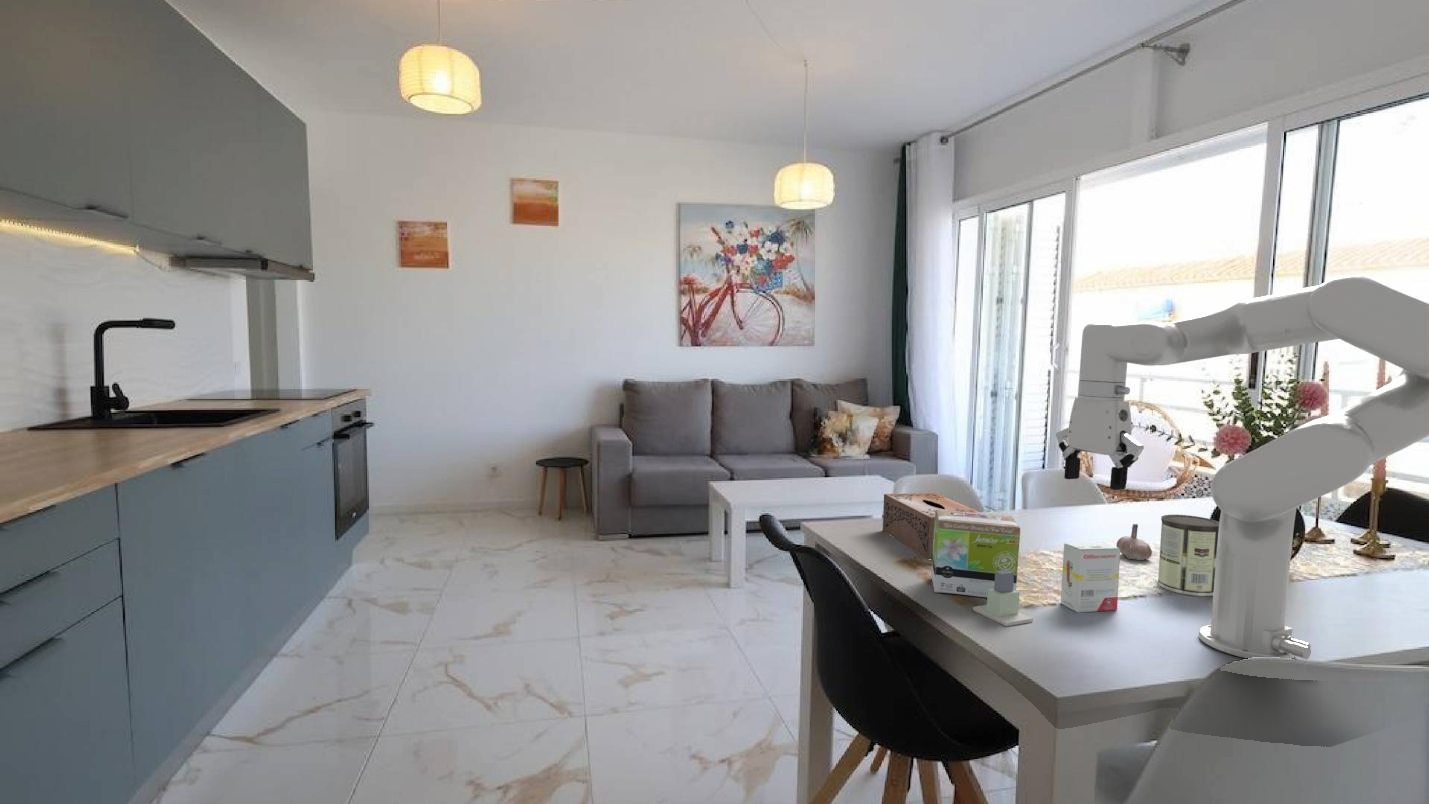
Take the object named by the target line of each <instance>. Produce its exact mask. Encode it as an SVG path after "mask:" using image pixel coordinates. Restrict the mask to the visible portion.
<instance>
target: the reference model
mask: <svg viewBox="0 0 1429 804" xmlns="http://www.w3.org/2000/svg"><path fill="white" fill-rule="evenodd" d="M1013 582H1014V572H1011V571H1008V570H1003V571H996V572H995V584H994V589H988V595H987V600H986V604H984V605H977V606H973V607H972V611H974V612H976V613H978V614H980V615H982V616H984V617H986V618H988V619H990V620H993V621H995V622H996V623H998V624H1001V625H1003V626H1005V627H1009V626H1010V627H1011V626H1016V625H1017V626H1018V625H1021V624H1028V623H1032V622H1033V621H1034V620H1033V618H1032V617H1031V616H1028V615H1025V614H1024V613H1021V612H1019V610H1020V609H1019V608H1020V591H1017V589H1016V590H1013Z"/></svg>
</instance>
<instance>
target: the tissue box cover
mask: <svg viewBox="0 0 1429 804" xmlns="http://www.w3.org/2000/svg"><path fill="white" fill-rule="evenodd" d="M936 510H947V511H959V512H971V513H982V514H985V513H983V512H981V511H978V510H977V509H974V508H972V507H969V506H967V505H965V504H963V503H960V502H957V501H955V500H953V499H951V498H948V497H945V496H944V495H941V494H940V493H937V492H927V493H926V492H925V493H924V492H922V493H920V492H919V493H910V492H908V493H884V494H883V510H882V511H883V512H882V513H883V514H882V515H883V516H882V531H883V530H884V531H885V532H884V531H883V532H884V533H886V534H887V533H888V534H887V535H889V534H890V535H891V536H890V535H889V536H890V537H892V536H893V537H894V538H893V537H892V538H893V539H895V540H897V541H899V542H900V543H902V544H903V545H905V546H906V547H908V548H909V549H911V550H912V551H914V552H916V553H917V554H919V555H920V556H922V557H924V558H925V559H927V560H928V559H932V554H933V539H934V524H935V512H936Z"/></svg>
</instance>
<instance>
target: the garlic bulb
mask: <svg viewBox="0 0 1429 804" xmlns="http://www.w3.org/2000/svg"><path fill="white" fill-rule="evenodd" d="M1138 529H1139V525H1138V523H1133V524H1132V529H1131V534H1130V536H1122V537H1120V538H1118V540H1117V541H1116V547H1118V549H1120V554H1122V555H1124V556H1125V557H1126V558H1128V559H1129V560H1135V559H1137V560H1136V561H1144V559H1146V560H1148V559H1150V558H1151V557H1152V555H1153V551H1152V548H1151V546H1150V545H1149V544H1148V543H1147V542H1146V541H1145V540H1143V539H1141V538H1137V537H1138Z"/></svg>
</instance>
